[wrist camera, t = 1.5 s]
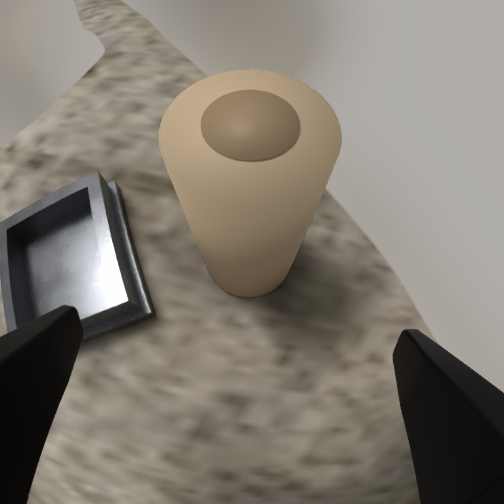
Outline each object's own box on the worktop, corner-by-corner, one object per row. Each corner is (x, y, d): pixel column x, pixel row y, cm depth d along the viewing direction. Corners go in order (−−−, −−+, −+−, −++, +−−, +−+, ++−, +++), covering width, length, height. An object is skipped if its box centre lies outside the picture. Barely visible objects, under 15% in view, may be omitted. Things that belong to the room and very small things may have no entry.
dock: (155, 314, 20) (138, 305, 17) (35, 359, 19) (7, 356, 15) (118, 186, 24) (103, 162, 20) (17, 237, 22) (-6, 221, 19)
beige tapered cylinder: (306, 276, 21) (376, 165, 9) (224, 311, 20) (189, 232, 8) (270, 204, 23) (289, 56, 11) (193, 233, 22) (142, 95, 10)
